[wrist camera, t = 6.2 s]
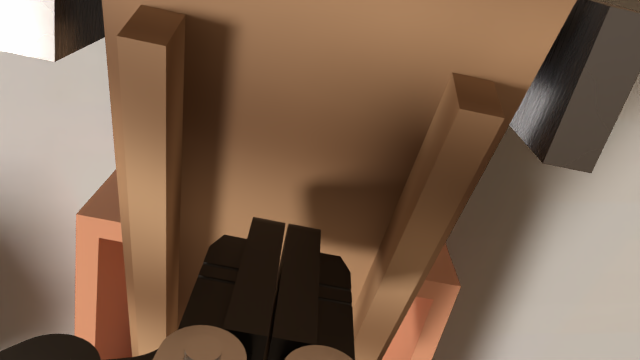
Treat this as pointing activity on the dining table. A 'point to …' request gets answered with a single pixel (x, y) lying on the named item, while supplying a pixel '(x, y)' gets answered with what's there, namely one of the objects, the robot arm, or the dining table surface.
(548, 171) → the dining table surface
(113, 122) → the lever
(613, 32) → the lever stand
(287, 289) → the robot arm
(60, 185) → the dining table surface
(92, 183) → the dining table surface
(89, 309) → the cup
